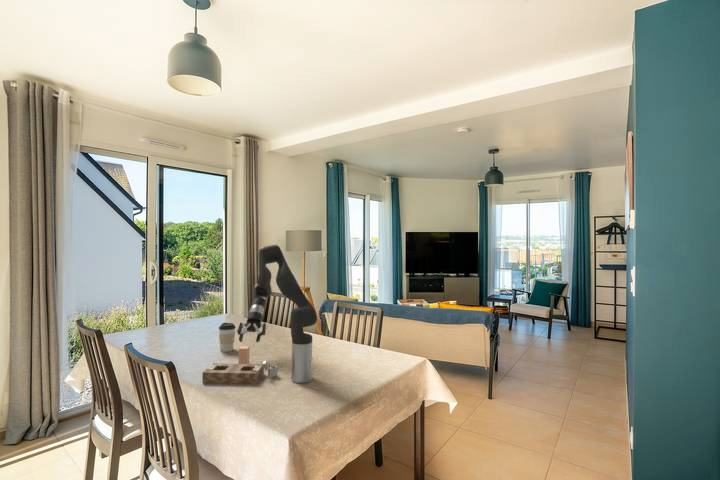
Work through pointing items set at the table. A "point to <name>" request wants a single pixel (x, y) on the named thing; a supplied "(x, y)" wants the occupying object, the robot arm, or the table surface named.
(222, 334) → the coffee cup
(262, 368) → the slot holder
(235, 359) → the table surface
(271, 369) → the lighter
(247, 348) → the peg
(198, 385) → the table surface
